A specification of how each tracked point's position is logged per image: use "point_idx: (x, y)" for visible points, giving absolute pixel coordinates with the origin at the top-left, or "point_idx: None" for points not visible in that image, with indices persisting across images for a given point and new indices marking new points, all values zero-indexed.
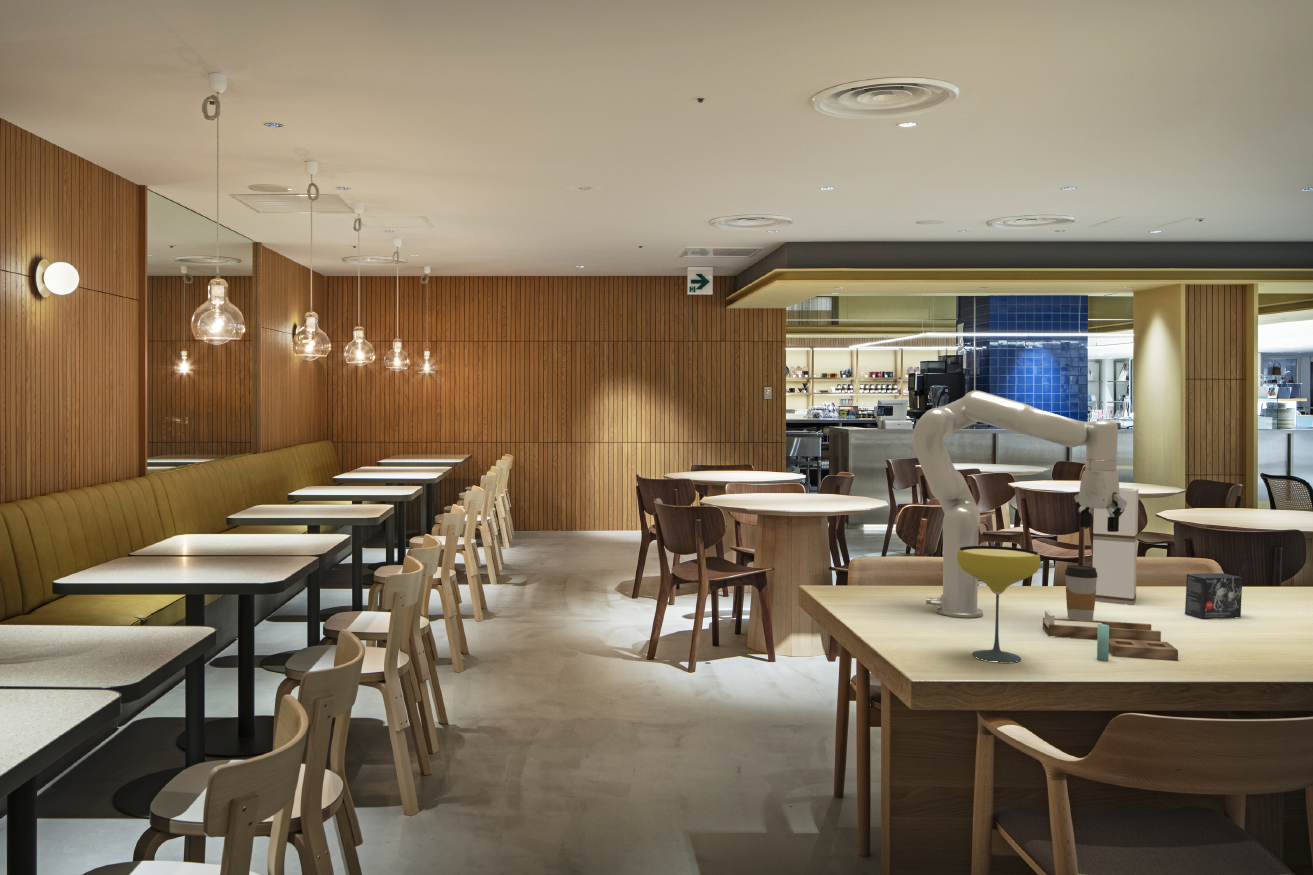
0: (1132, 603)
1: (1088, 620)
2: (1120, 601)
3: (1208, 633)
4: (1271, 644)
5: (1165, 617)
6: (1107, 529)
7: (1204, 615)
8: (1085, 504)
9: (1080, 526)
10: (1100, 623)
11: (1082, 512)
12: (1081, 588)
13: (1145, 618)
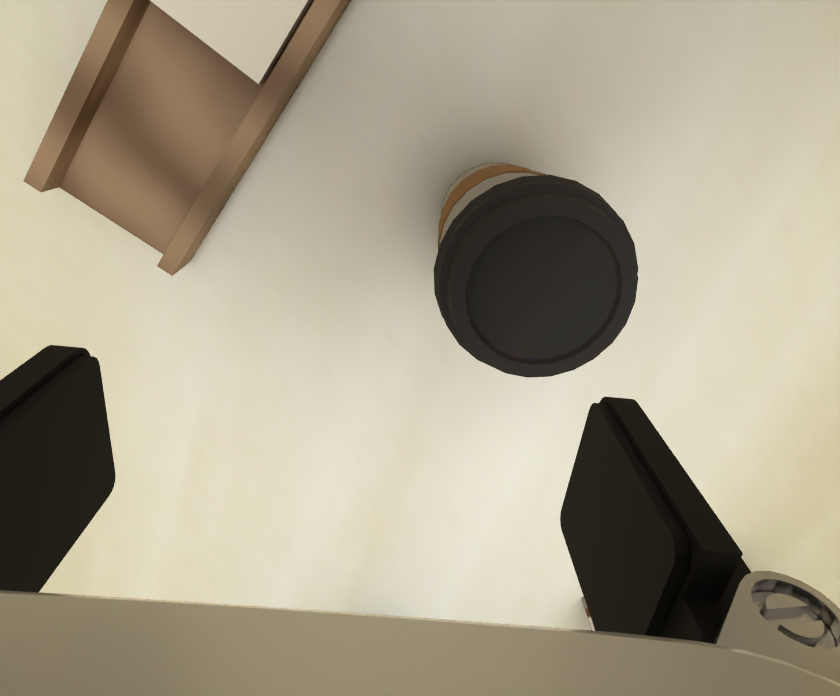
0: (585, 601)
1: (304, 48)
2: None
3: (173, 476)
4: None
5: (405, 544)
6: (80, 361)
7: None
8: (576, 674)
9: (623, 398)
10: (246, 65)
11: (725, 600)
12: (466, 198)
13: (419, 478)
